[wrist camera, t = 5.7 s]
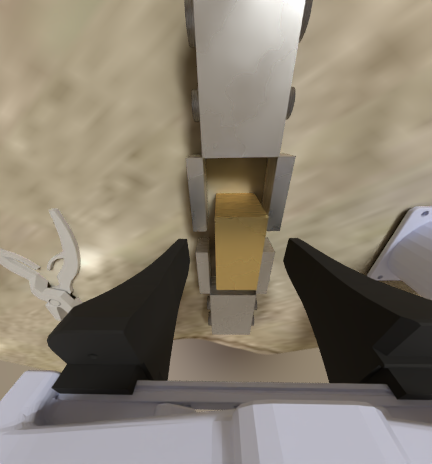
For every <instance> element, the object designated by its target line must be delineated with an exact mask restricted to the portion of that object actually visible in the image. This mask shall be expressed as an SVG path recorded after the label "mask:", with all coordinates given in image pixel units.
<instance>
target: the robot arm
mask: <svg viewBox="0 0 432 464" xmlns="http://www.w3.org/2000/svg"><path fill="white" fill-rule="evenodd" d="M283 262H284V265H285V268H286V271H287V273H288V275H289V278H290V280H291V282H292V284H293V286H294V287H295V289H296V291H297V293H298V295H299V297H300V299H301V301H302V303H303V306H304V308H305V310H306V313H307V315H308V318H309V321H310V323H311V326H312V329H313V332H314V334H315V337H316V340H317V343H318V346H319V349H320V353H321V356H322V359H323V362H324V365H325V369H326V372H327V376H328V379H329V383H282V382H280V383H279V382H214V381H168V372H169V365H170V357H171V351H172V344H173V338H174V331H175V325H176V320H177V314H178V308H179V304H180V300H181V297H182V293H183V290H184V286H185V283H186V279H187V276H188V271H189V264H190V258H189V250H188V243H187V239H178V240H177V241H176V242H175V243H174V244H173V245H172V246H171V247H170V248H169V249H168V250H167V251H166V252H165V253H163V254H162V255H161V256H160V257H159V258H158V259H157V260H155V261H154V262H153V263H152V264H151V265H149V266H148V267H147V268H145V269H144V270H143V271H141V272H140V273H138V274H137V275H135V276H134V277H132V278H130V279H129V280H127V281H126V282H124V283H122V284H120V285H119V286H117V287H115V288H113V289H111V290H109V291H107V292H105V293H103V294H101V295H99V296H97V297H95V298H93V299H90V300H88V301H86V302H84V303H81V304H79V305H77V306H74V307H73V308H72V309H71V310H70V311H69V313H68V314H67V315H66V316H65V317H64V318H63V320H62V321H61V322H60V323H59V324H58V325H57V327H56V328H55V329H54V330H53V331H52V332H51V334H50V335H49V336H48V339H47V343H48V346H49V347H50V348H51V350H52V351H53V352H54V353H56V354H57V355H58V356H59V357H60V358H61V359H62V360H63V361H65V362H66V363H67V365H66V367H65V368H64V370H63V371H62V373H60V372H57V371H51V370H28V371H25V372H24V373H23V374H22V376H21V377H20V378H19V379H18V380H17V382H16V383H15V384H14V385H13V386H12V388H11V389H10V390H9V391H8V392H7V394H6V395H5V396H4V397H3V399H2V400H1V401H0V464H432V206H417V207H413V208H411V209H410V210H409V211H408V212H407V213H406V215H405V217H404V218H403V220H402V221H401V223H400V224H399V226H398V227H397V229H396V231H395V232H394V234H393V235H392V237H391V238H390V240H389V241H388V243H387V245H386V246H385V248H384V249H383V251H382V252H381V254H380V256H379V257H378V259H377V260H376V262H375V263H374V265H373V266H372V268H371V270H370V271H369V273H368V274H367V276H365V275H363V274H361V273H359V272H357V271H355V270H353V269H350V268H348V267H347V266H345V265H343V264H341V263H339V262H337V261H335V260H334V259H332V258H330V257H328V256H327V255H325V254H323V253H322V252H320V251H318V250H317V249H315V248H314V247H312V246H310V245H309V244H307V243H306V242H304V241H302V240H300V239H298V238H289V240H288V244H287V248H286V252H285V256H284V260H283ZM377 280H402V281H403V282H404V283H405V284H407V285H408V286H409V287H411V288H412V289H413V290H414V291H416V292H417V293H418V294H419V295H421V296H422V297H420V296H417V295H414V294H411V293H408V292H406V291H403V290H400V289H397V288H395V287H392V286H389V285H387V284H384V283H382V282H379V281H377ZM195 409H211V410H219V411H207V412H196V411H195Z"/></svg>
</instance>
